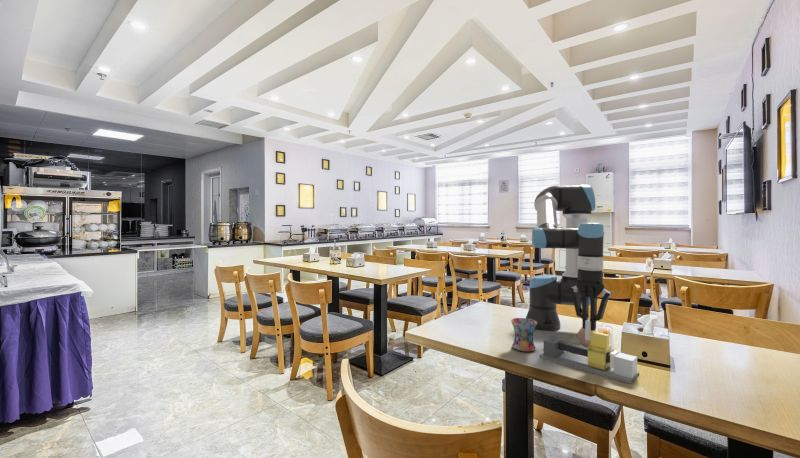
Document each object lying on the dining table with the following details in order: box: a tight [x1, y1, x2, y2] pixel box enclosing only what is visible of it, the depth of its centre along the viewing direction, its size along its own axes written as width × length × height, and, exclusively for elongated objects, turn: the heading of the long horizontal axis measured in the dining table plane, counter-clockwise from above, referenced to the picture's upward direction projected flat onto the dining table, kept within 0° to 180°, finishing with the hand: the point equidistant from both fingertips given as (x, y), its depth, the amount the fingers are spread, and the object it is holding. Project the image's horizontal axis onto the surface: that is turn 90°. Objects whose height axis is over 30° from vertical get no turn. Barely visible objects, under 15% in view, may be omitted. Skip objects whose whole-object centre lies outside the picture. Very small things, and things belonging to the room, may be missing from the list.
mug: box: [510, 317, 537, 352], centre depth 136 cm, size 12×9×11 cm
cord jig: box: [538, 335, 640, 384], centre depth 120 cm, size 10×28×7 cm, turn 43°
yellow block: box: [587, 331, 612, 370], centre depth 117 cm, size 6×5×10 cm
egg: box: [577, 326, 597, 347], centre depth 137 cm, size 7×7×8 cm
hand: (588, 339), depth 120 cm, fingers closed
